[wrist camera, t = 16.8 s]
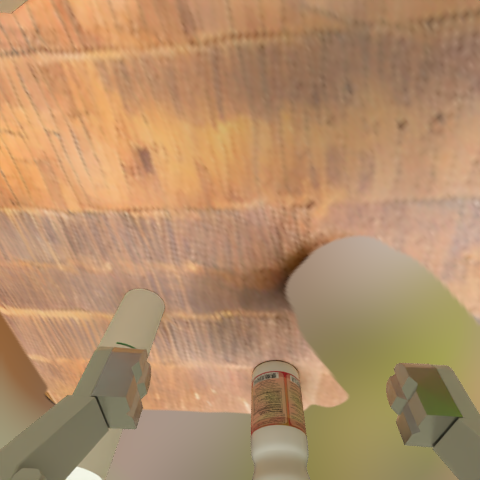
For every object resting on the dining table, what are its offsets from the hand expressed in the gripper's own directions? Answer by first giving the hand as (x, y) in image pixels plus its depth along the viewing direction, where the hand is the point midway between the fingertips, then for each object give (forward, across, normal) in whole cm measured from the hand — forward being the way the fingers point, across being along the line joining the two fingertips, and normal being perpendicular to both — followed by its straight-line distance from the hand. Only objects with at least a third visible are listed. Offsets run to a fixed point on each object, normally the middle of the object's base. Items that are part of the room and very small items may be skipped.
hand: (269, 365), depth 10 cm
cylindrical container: (+31, +18, +30) cm, 46 cm away
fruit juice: (+30, -7, +47) cm, 57 cm away
